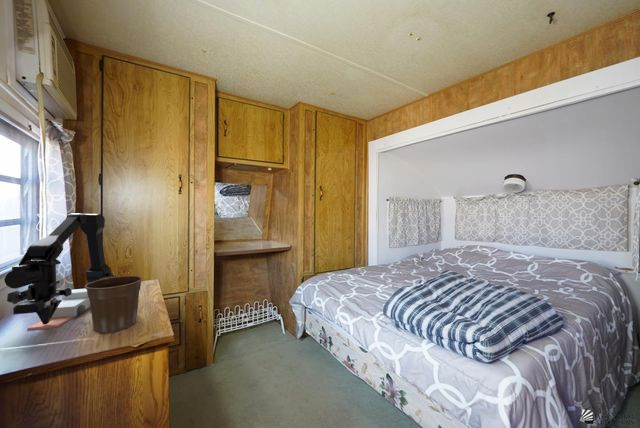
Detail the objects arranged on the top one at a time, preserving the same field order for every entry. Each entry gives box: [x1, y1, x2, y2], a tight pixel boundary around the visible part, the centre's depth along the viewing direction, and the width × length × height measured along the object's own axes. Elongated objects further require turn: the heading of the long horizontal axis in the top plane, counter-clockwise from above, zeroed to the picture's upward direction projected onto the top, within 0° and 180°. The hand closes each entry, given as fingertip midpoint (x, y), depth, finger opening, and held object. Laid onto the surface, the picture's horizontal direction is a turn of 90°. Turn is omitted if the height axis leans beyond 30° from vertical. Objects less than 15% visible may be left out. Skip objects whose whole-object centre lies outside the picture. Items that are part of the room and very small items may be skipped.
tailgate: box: [26, 316, 75, 331], centre depth 95 cm, size 1×9×8 cm
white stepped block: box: [51, 288, 91, 319], centre depth 106 cm, size 15×11×7 cm
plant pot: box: [84, 275, 143, 334], centre depth 94 cm, size 16×16×16 cm
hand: (45, 323), depth 92 cm, fingers closed
